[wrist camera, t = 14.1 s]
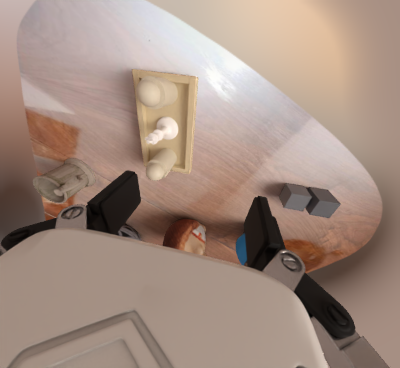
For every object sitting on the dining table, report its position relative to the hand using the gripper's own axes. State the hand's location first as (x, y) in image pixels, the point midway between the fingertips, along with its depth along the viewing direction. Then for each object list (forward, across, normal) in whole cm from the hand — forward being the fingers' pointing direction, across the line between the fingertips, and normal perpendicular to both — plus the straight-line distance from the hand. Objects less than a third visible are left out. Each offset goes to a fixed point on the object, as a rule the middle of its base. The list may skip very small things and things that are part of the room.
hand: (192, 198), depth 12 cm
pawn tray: (+25, +11, +2) cm, 28 cm away
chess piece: (+24, +11, +2) cm, 27 cm away
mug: (+25, +38, +19) cm, 49 cm away
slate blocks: (+25, -24, +13) cm, 37 cm away
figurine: (+25, +3, +35) cm, 43 cm away
